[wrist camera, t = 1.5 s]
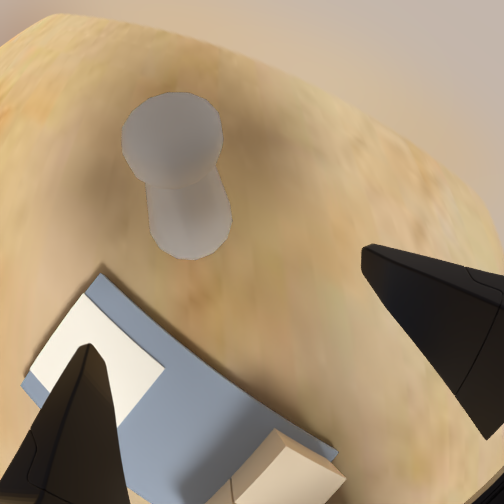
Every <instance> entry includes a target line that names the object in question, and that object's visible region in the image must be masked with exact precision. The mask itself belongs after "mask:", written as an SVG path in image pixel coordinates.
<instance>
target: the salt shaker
mask: <svg viewBox="0 0 504 504" xmlns="http://www.w3.org/2000/svg"><path fill="white" fill-rule="evenodd" d="M223 140H224V138H223V132H222V126H221V120H220V116H219V112H218V111H217V110H216V109H215V108H214V107H213V106H212V105H211V104H210V103H209V102H208V101H207V100H206V99H204V98H201V97H199V96H196V95H194V94H191V93H182V92H172V93H164V94H161V95H158V96H155V97H151V98H149V99H147V100H146V101H145V102H143V103H142V104H141V105H139V106H138V107H137V108H136V109H134V110H133V111H132V112H131V114H130V115H129V117H128V118H127V120H126V122H125V123H124V125H123V127H122V142H121V145H122V153H123V156H124V158H125V159H126V161H127V163H128V165H129V166H130V168H131V170H132V171H133V173H134V175H135V176H136V178H138V179H139V180H141V181H143V182H145V188H146V198H147V206H148V215H149V227H150V234H151V235H152V237H153V239H154V240H155V242H156V244H157V245H158V247H159V248H160V249H161V250H163V251H165V252H166V253H168V254H170V255H171V256H173V257H175V258H177V259H187V260H197V259H200V258H202V257H205V256H207V255H210V254H213V253H214V252H215V251H216V250H217V249H218V248H219V247H220V246H221V245H222V244H223V243H224V242H225V241H226V239H227V238H228V234H229V231H230V227H231V224H232V214H231V207H230V202H229V200H228V197H227V194H226V192H225V189H224V186H223V184H222V181H221V178H220V176H219V173H218V170H217V168H216V163H217V160H218V158H219V155H220V152H221V150H222V146H223Z"/></svg>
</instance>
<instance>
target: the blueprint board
mask: <svg viewBox="0 0 504 504" xmlns="http://www.w3.org/2000/svg"><path fill="white" fill-rule="evenodd" d="M87 343H91V344H93V346H94V347H95V348H96V350H97V351H98V352H99V354H100V355H101V357H102V358H103V359H104V361H105V363H106V366H107V372H108V377H109V383H110V388H111V393H112V398H113V403H114V408H115V416H116V424H117V432H118V440H119V446H120V453H121V459H122V465H123V471H124V476H125V481H126V486H127V487H128V488H129V489H131V490H132V491H134V492H135V493H136V494H138V495H139V496H141V497H142V498H144V499H145V500H147V501H148V502H150V503H151V504H325V503H326V502H327V501H328V499H329V498H330V497H331V496H332V495H333V494H334V493H335V492H336V491H337V489H338V488H339V487H340V486H341V485H342V484H343V483H344V481H345V480H346V479H347V478H346V477H345V476H344V475H343V474H342V473H341V472H339V471H338V470H337V468H336V467H335V466H334V465H333V464H332V463H331V462H332V460H333V459H334V458H335V457H336V456H337V454H338V453H339V452H338V451H337V450H336V449H335V448H333V447H331V446H330V445H328V444H326V443H324V442H323V441H321V440H319V439H318V438H316V437H314V436H312V435H311V434H309V433H307V432H306V431H304V430H303V429H301V428H299V427H298V426H296V425H294V424H293V423H291V422H290V421H288V420H287V419H285V418H283V417H282V416H280V415H279V414H277V413H276V412H274V411H273V410H271V409H270V408H268V407H267V406H265V405H264V404H262V403H261V402H259V401H258V400H256V399H255V398H254V397H252V396H251V395H249V394H248V393H246V392H245V391H243V390H242V389H241V388H239V387H238V386H236V385H235V384H234V383H232V382H231V381H230V380H228V379H227V378H225V377H224V376H223V375H221V374H220V373H219V372H217V371H216V370H215V369H213V368H212V367H211V366H210V365H208V364H207V363H206V362H204V361H203V360H202V359H200V358H199V357H198V356H197V355H195V354H194V353H193V352H192V351H190V350H189V349H188V348H187V347H185V346H184V345H183V344H182V343H180V342H179V341H178V340H177V339H176V338H174V337H173V336H172V335H171V334H169V333H168V332H167V331H166V330H165V329H164V328H162V327H161V326H160V325H159V324H158V323H157V322H155V321H154V320H153V319H152V318H151V317H150V316H148V315H147V314H146V313H145V312H144V311H143V310H142V309H141V308H139V307H138V306H137V305H136V304H135V303H134V302H133V301H132V300H131V299H130V298H128V297H127V296H126V295H125V294H124V293H123V292H122V291H121V290H120V289H119V288H118V287H117V286H116V285H115V284H113V283H112V282H111V281H110V280H109V279H108V278H107V277H106V276H105V275H104V274H102V273H100V274H99V275H98V277H97V278H96V279H95V280H94V282H93V283H92V284H91V285H90V287H89V288H88V289H87V290H86V292H85V293H83V294H82V295H81V296H80V298H79V299H78V300H77V302H76V303H75V304H74V306H73V307H72V308H71V310H70V311H69V313H68V314H67V315H66V317H65V318H64V319H63V321H62V322H61V324H60V325H59V326H58V328H57V329H56V331H55V332H54V333H53V335H52V336H51V338H50V339H49V341H48V342H47V344H46V345H45V346H44V348H43V349H42V351H41V352H40V354H39V355H38V357H37V358H36V360H35V362H34V363H33V365H32V366H31V368H30V371H29V373H28V374H27V376H26V377H25V379H24V381H23V382H22V384H21V387H22V388H23V389H24V391H25V392H26V393H27V394H28V395H29V396H30V398H31V399H32V400H33V401H34V402H35V403H36V405H37V406H38V407H39V408H40V409H41V408H42V406H43V404H44V402H45V401H46V399H47V397H48V396H49V394H50V392H51V391H52V389H53V387H54V386H55V384H56V382H57V381H58V379H59V377H60V376H61V374H62V372H63V371H64V369H65V368H66V366H67V364H68V363H69V361H70V360H71V358H72V356H73V355H74V353H75V352H76V350H77V349H78V347H79V346H81V345H84V344H87Z"/></svg>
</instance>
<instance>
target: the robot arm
mask: <svg viewBox="0 0 504 504" xmlns="http://www.w3.org/2000/svg"><path fill="white" fill-rule="evenodd" d="M361 270H362V273H363V275H364V276H365V278H366V279H367V281H368V282H369V284H370V285H371V287H372V288H373V290H374V291H375V293H376V294H377V296H378V297H379V299H380V300H381V302H382V303H383V304H384V306H385V307H386V308H387V310H388V311H389V312H390V313H391V315H392V316H393V317H394V318H395V320H396V321H397V322H398V323H399V324H400V326H401V327H402V328H403V329H404V331H405V332H406V333H407V334H408V336H409V337H410V338H411V339H412V341H413V342H414V343H415V344H416V346H417V347H418V348H419V349H420V351H421V352H422V353H423V355H424V356H425V357H426V358H427V360H428V361H429V362H430V364H431V365H432V366H433V367H434V369H435V370H436V371H437V373H438V374H439V375H440V377H441V378H442V379H443V381H444V382H445V383H446V385H447V386H448V387H449V389H450V390H451V392H452V393H453V394H454V395H455V397H456V399H457V400H458V401H459V403H460V404H461V406H462V407H463V408H464V410H465V411H466V413H467V414H468V415H469V417H470V418H471V420H472V421H473V423H474V424H475V426H476V427H477V428H478V430H479V431H480V433H481V434H482V436H483V437H484V438H485V440H488V439H489V438H490V437H491V436H492V435H493V434H494V433H495V432H496V431H497V430H498V429H499V427H500V426H501V425H502V424H503V423H504V276H503V275H498V274H494V273H489V272H485V271H481V270H477V269H473V268H469V267H464V266H462V265H458V264H454V263H450V262H446V261H442V260H438V259H435V258H431V257H427V256H423V255H419V254H415V253H411V252H407V251H402V250H398V249H394V248H390V247H386V246H382V245H377V244H370V245H367V246H365V247H363V248H362V252H361ZM0 504H130V500H129V496H128V491H127V486H126V481H125V476H124V471H123V465H122V459H121V453H120V446H119V440H118V432H117V424H116V416H115V408H114V403H113V398H112V393H111V388H110V383H109V377H108V372H107V366H106V363H105V361H104V359H103V358H102V357H101V355H100V354H99V352H98V351H97V350H96V348H95V347H94V346H93V344H91V343H87V344H84V345H81V346H79V347H78V349H77V350H76V352H75V353H74V355H73V356H72V358H71V360H70V361H69V363H68V364H67V366H66V368H65V369H64V371H63V372H62V374H61V376H60V377H59V379H58V381H57V382H56V384H55V386H54V387H53V389H52V391H51V392H50V394H49V396H48V397H47V399H46V401H45V402H44V404H43V406H42V408H41V409H40V411H39V413H38V415H37V417H36V418H35V420H34V422H33V424H32V426H31V430H29V431H28V433H27V435H26V437H25V439H24V440H23V442H22V444H21V446H20V448H19V450H18V451H17V453H16V455H15V456H14V458H13V460H12V462H11V463H10V465H9V467H8V468H7V470H6V472H5V473H4V475H3V477H2V478H1V480H0ZM464 504H504V466H503V467H502V468H501V469H500V470H499V471H498V472H497V473H496V474H495V475H494V476H493V477H492V478H491V479H490V480H489V481H488V482H487V483H486V484H485V485H484V486H483V487H482V488H481V489H480V490H479V491H478V492H476V493H475V494H474V495H473V496H472V497H471V498H470V499H469V500H467V501H466V502H465V503H464Z"/></svg>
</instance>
